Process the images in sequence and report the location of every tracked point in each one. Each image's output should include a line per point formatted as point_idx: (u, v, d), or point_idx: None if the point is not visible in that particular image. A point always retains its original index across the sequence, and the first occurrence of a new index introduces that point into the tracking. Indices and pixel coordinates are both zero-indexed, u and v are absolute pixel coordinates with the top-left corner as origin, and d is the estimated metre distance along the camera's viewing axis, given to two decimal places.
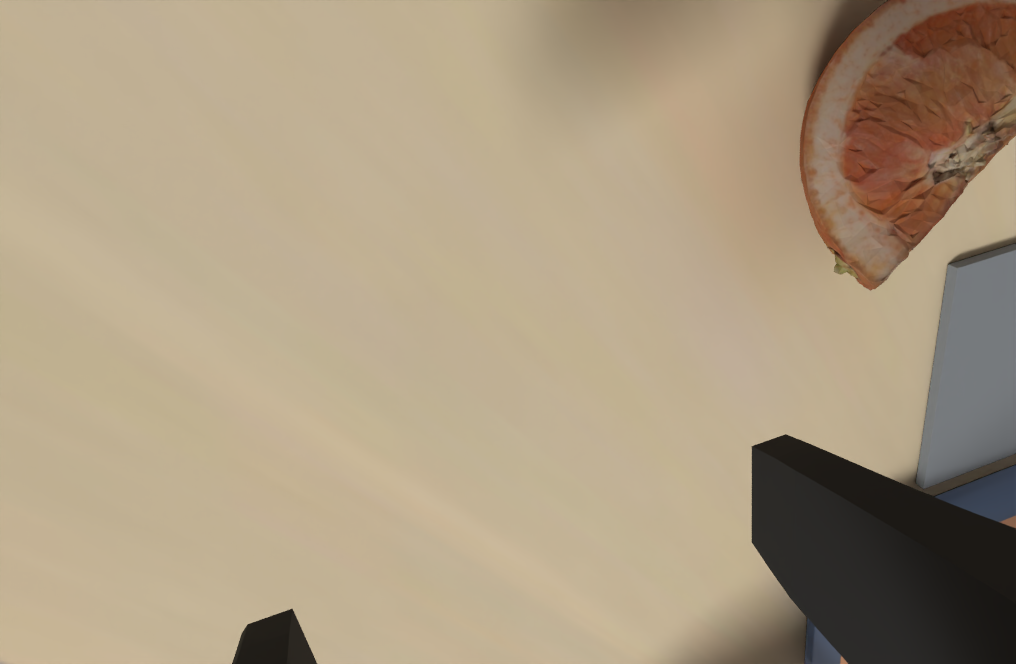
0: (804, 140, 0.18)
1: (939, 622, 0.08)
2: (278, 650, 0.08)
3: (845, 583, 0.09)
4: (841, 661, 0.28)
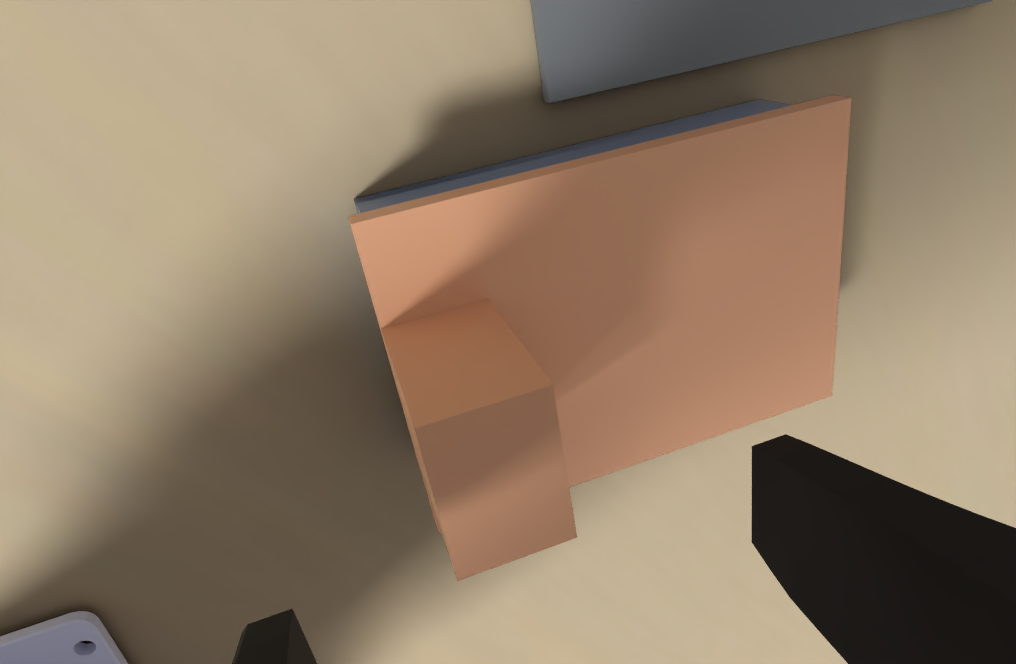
0: None
1: (939, 622, 0.08)
2: (278, 650, 0.08)
3: (845, 583, 0.09)
4: (400, 399, 0.16)
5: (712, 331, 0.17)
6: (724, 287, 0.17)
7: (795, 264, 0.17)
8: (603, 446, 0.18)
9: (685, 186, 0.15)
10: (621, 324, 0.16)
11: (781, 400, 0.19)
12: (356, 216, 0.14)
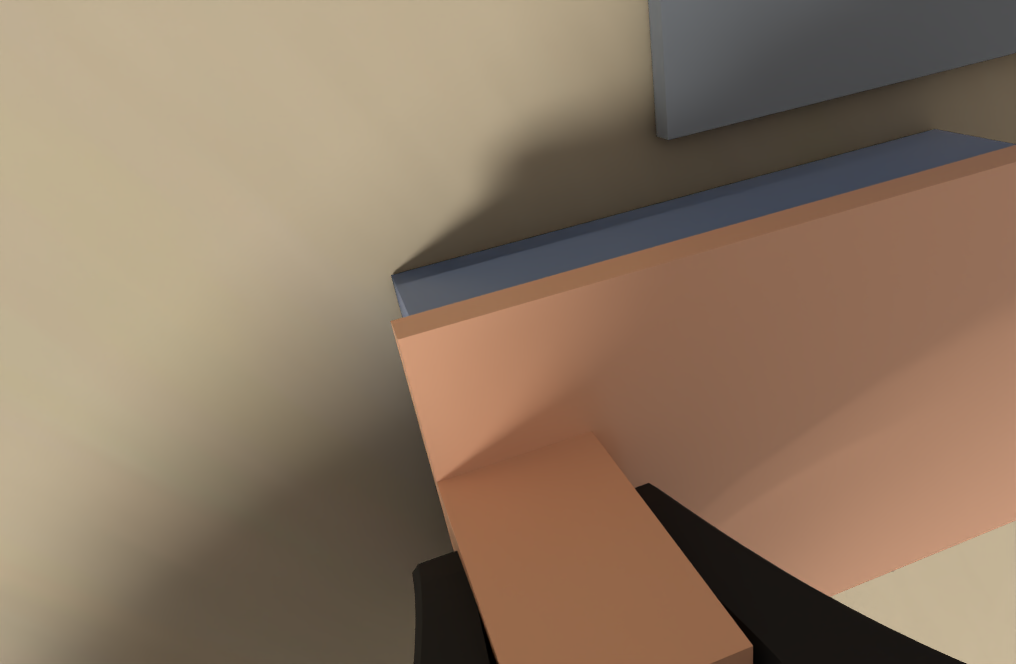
0: None
1: None
2: (462, 583, 0.09)
3: None
4: None
5: (883, 453, 0.13)
6: (906, 396, 0.12)
7: (1000, 361, 0.12)
8: None
9: (875, 264, 0.11)
10: (767, 453, 0.12)
11: (955, 531, 0.14)
12: (404, 322, 0.09)
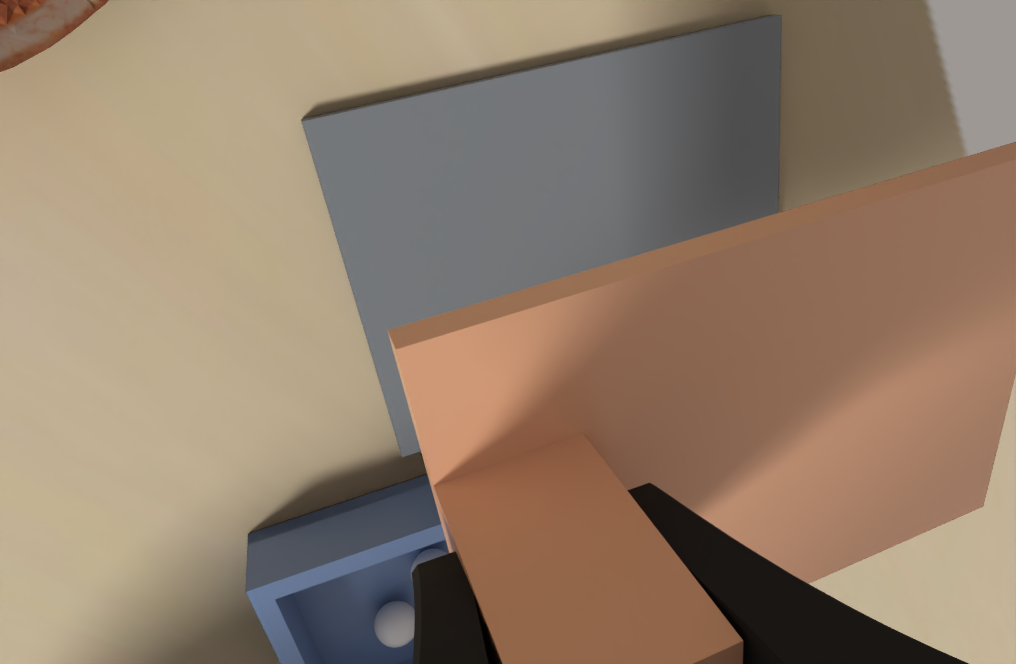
0: None
1: None
2: (460, 584, 0.09)
3: None
4: None
5: (859, 447, 0.13)
6: (881, 392, 0.13)
7: (969, 357, 0.13)
8: None
9: (853, 268, 0.11)
10: (750, 450, 0.12)
11: (926, 518, 0.15)
12: (401, 332, 0.09)
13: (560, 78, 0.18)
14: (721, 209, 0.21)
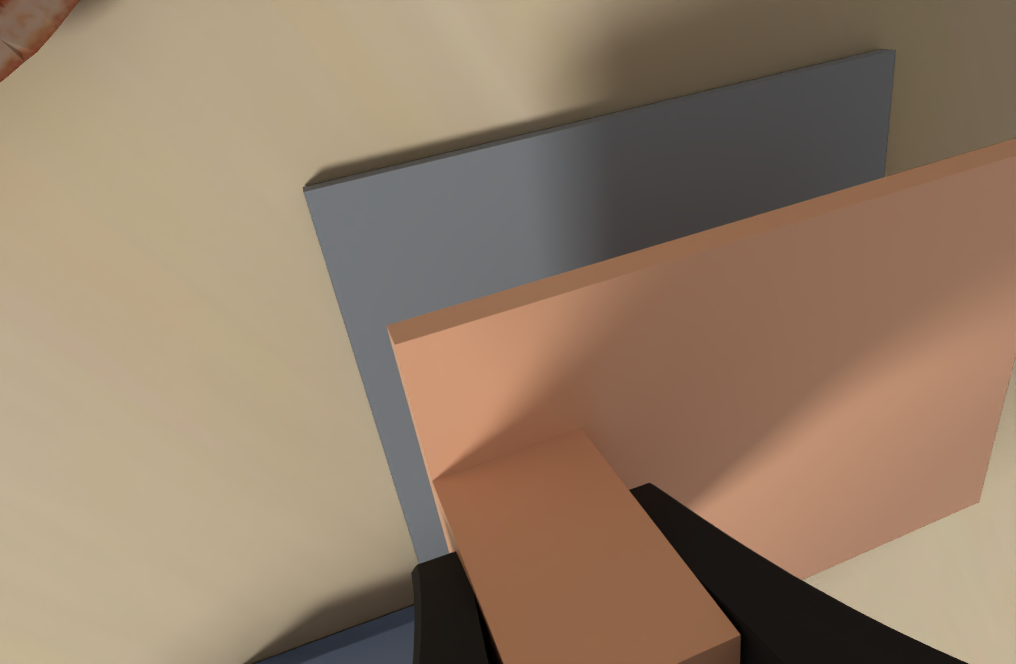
0: None
1: None
2: (460, 584, 0.09)
3: None
4: None
5: (856, 442, 0.13)
6: (878, 388, 0.13)
7: (966, 353, 0.13)
8: None
9: (851, 265, 0.11)
10: (747, 445, 0.12)
11: (922, 513, 0.15)
12: (400, 327, 0.09)
13: (627, 131, 0.14)
14: None
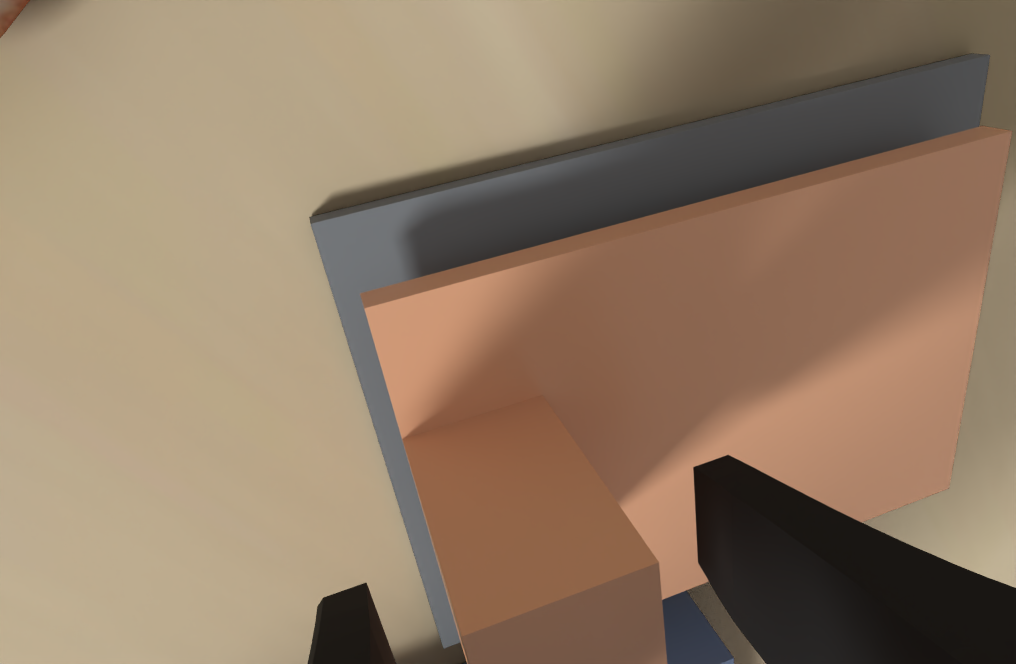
0: None
1: (864, 654, 0.08)
2: (360, 620, 0.09)
3: (781, 609, 0.09)
4: None
5: (817, 421, 0.14)
6: (836, 368, 0.13)
7: (923, 337, 0.14)
8: (676, 562, 0.14)
9: (800, 247, 0.12)
10: (707, 419, 0.13)
11: (890, 497, 0.15)
12: (371, 294, 0.10)
13: (686, 150, 0.12)
14: None
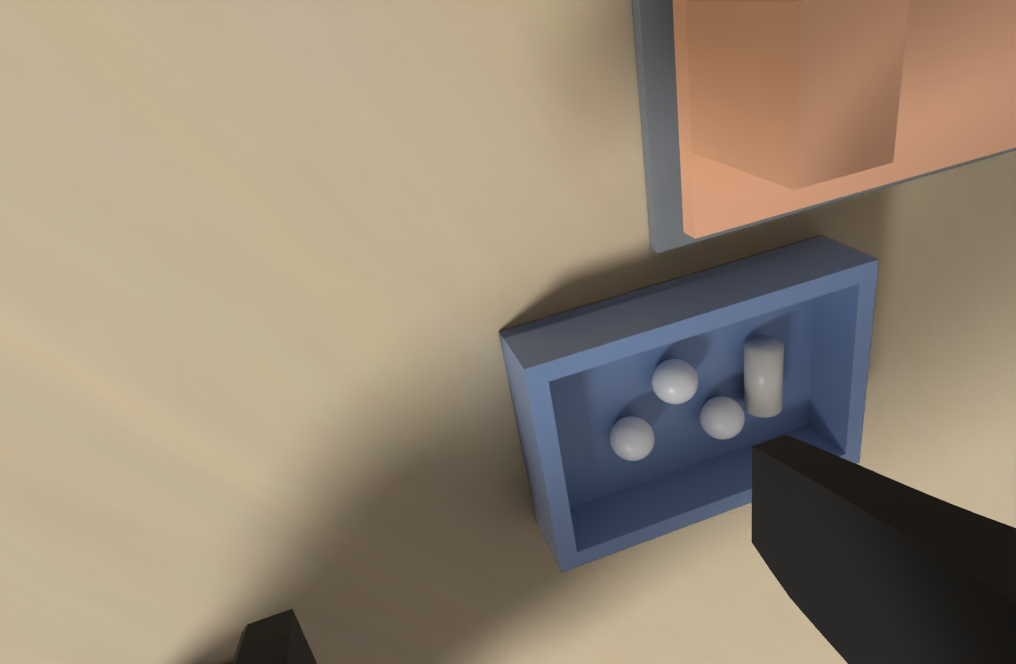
0: None
1: (939, 622, 0.08)
2: (278, 650, 0.08)
3: (845, 582, 0.09)
4: (678, 93, 0.17)
5: (953, 49, 0.18)
6: (970, 1, 0.18)
7: None
8: None
9: None
10: None
11: (998, 138, 0.20)
12: None
13: None
14: None
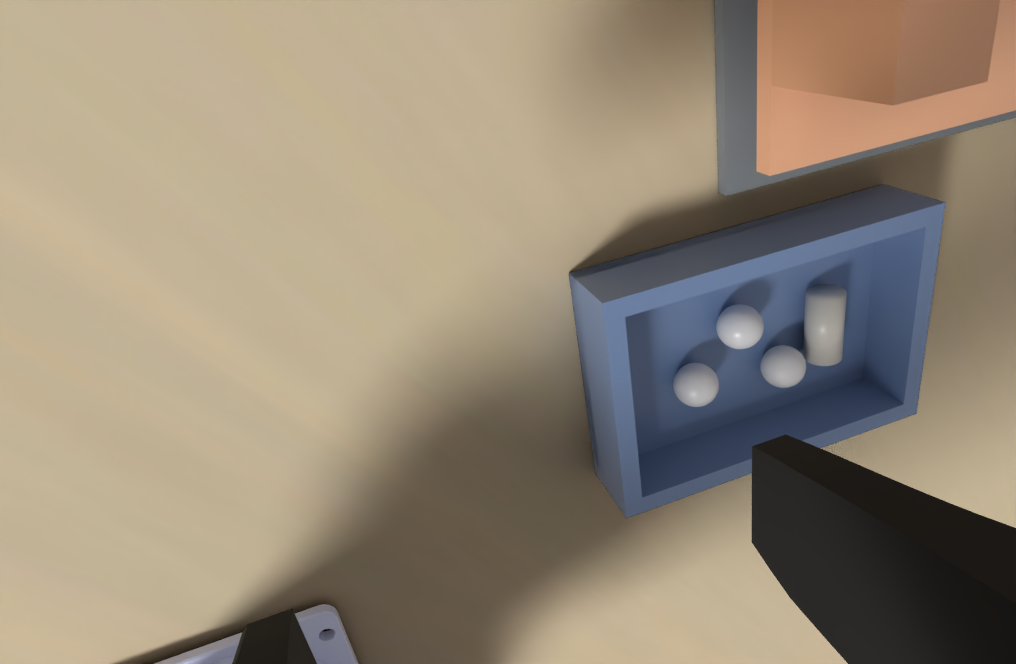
0: None
1: (939, 622, 0.08)
2: (278, 650, 0.08)
3: (845, 582, 0.09)
4: (758, 27, 0.17)
5: None
6: None
7: None
8: (915, 105, 0.19)
9: None
10: None
11: None
12: None
13: None
14: None
